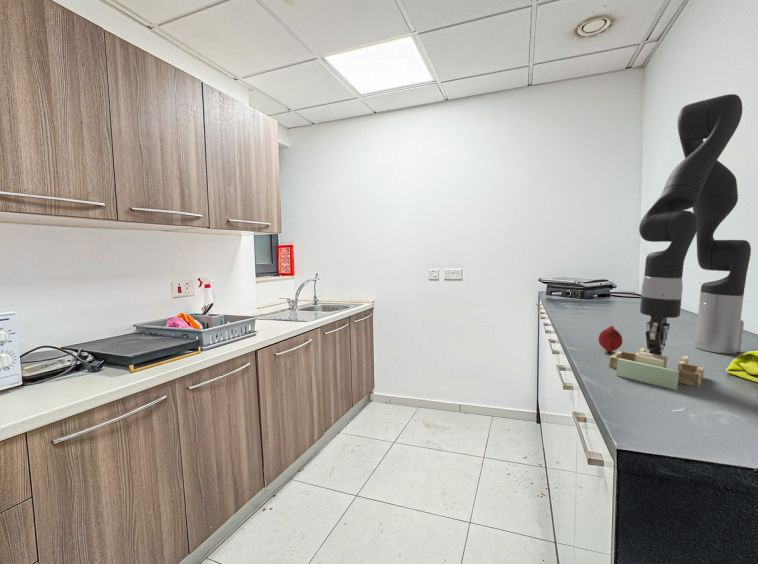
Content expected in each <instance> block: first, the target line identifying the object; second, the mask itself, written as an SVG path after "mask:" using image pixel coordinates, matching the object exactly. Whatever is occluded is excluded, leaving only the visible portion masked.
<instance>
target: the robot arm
mask: <svg viewBox="0 0 758 564" xmlns="http://www.w3.org/2000/svg"><path fill="white" fill-rule="evenodd" d="M742 115H743V102H742V100H741V97H740V96H739V95H738V94H735V93H730V94H725V95H720V96H717V97H712V98H708V99H705V100H701V101H700V100H699V101H697V102H692V103H689V104H687V105H684V106H683V107H682V108H681V109H680V110H679V113H678V117H677V130H678V137H679V141H680V145H681V148H682V152H683V156H684V159H683V160H682V161H681V162H680V163H678V164H677V166H675V168H674V169H673V170H672V172H671V173H670V174H669V176H668V178H667V181H666V183H665V185H664V188H663V190H662V193H661V194H660V196H659V197H658V198H657V199H656V201H655V202H654V203H653V204H652V206H651V207H650V208H649V209H648V210H647V211H646V213H645V214H644V216H643V217H642V219H641V221H640V223H639V227H638V228H639V229H638V231H639V235H640V237H641V238H642V239H643V240H644V241H646V242H649V243H650V242H651V243H658V242H659V243H660V242H665V243H666V242H668V243H670V244H669V246H668V247H666V249H664V250H661V251H660V250H659V251H655V252H649V253H648V254H647V256H646V258H645V266H644V276H643V277H644V278H643V281H642V286H641V295H640V307H639V312H640V314H642V315H645V316H650V319H649V321H647V322H646V324H645V325H646V326H645V327H646V328H645V330H646V332H645V336H646V337H645V338H646V339H645V340H646V348H647V350H648V353H651V354H656V355H661V356H663V354H662V353H663V351H664V349H665V347H666V342H667V340H668V335H669V334H668V333H669V331H670V327H671V324H670V323H669V322H668V318H669V319H674V318H679V317H680V316H681V308H682V307H681V306H682V298H683V297H682V296H683V289H684V288H683V274H684V273H683V272H684V264H685V263H684V262H685V259H686V257H687V254H688V251H689V249H690V246H691V245H692V242H693V241H694V239H695V236H696V257H697V263H698V265H699V268H701V269H702V270H705V271H715V272H717V271H718V272H719V271H720V272H728V275H727V276H726V277H723V278H721V279H716V280H712V281H708V282H703V283H702V284H701V286H700V295H699V302H698V303H699V305H698V311H697V320H696V321H697V322H696V330H695V340H694V347H695V348H696V349H699V350H703V351H706V352H707V351H708V352H710V353H711V352H713V353H719V354H729V355H731V354H732V355H734V354H735V355H736V354H737V352H740V353H741V350H742V349H741V348H742V339H743V334H744V333H743V332H744V323H745V322H744V321H743V320H741V319H742V311H743V303H744V295H745V287H746V281H747V274H748V269H749V263H750V260H751V255H752V253H751V252H752V247H751V243H750V242H749V241H748V240H745V239H715V238H714V234H715V231H716V230H717V228H718V227H719V226H720V224H721V223H722V222H723V221H724V220H725V219H726V218H727V217H728V215H729V214H730V213H731V212H732V211H733V210H734V209H735V207H736V206H737V203H738V200H739V194H738V192H739V191H738V184H737V178H736V176H735V174H734V173H733V172H732V171H731V170H730V169H729V168H728V167H727V166H726V165H724V164H723V163H722V162H720V161H719V160H718V159H719V158H720V156H721V154H722V153H723V152H724V150H725V148H726V147H727V145H728V143H729V142H730V140H731V138H733V136H734V134H735V132H736V130H737V129H738V127H739V124H740V123H741V118H742V117H743V116H742ZM691 208H692V211H690V209H691Z"/></svg>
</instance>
